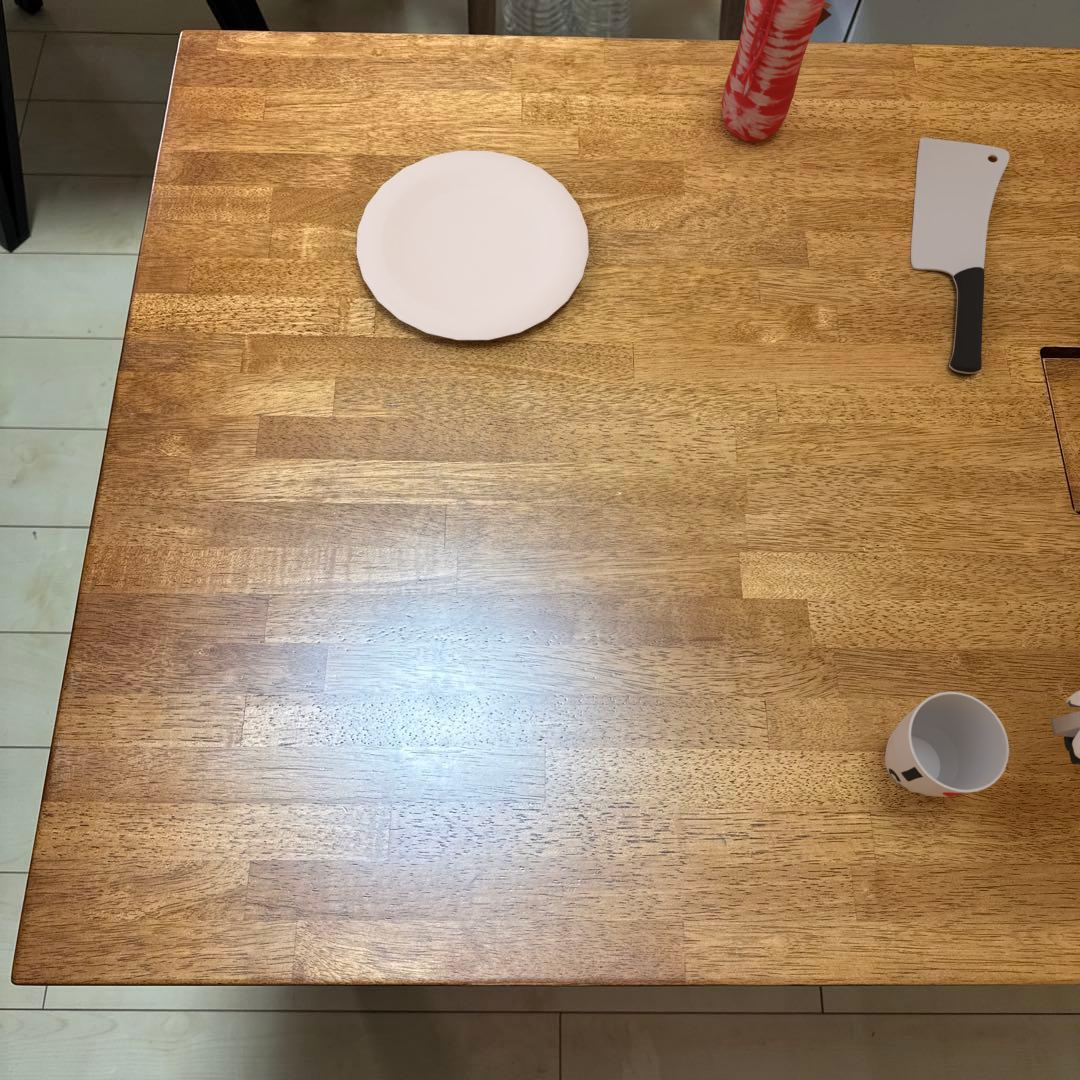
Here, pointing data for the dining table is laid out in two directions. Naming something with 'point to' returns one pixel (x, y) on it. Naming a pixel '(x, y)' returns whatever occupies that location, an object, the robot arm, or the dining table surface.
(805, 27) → the water bottle
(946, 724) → the cup
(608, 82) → the dining table surface
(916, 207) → the kitchen cleaver
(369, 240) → the plate
